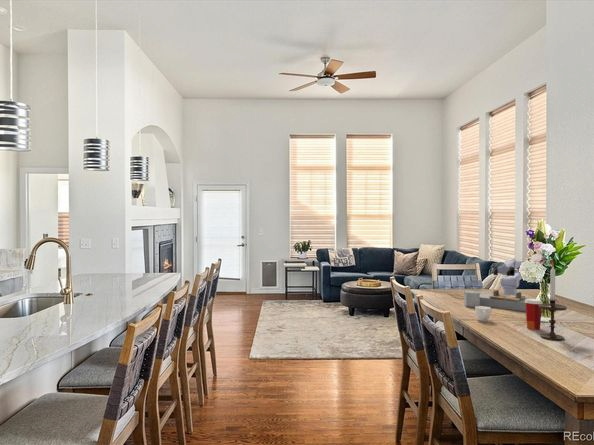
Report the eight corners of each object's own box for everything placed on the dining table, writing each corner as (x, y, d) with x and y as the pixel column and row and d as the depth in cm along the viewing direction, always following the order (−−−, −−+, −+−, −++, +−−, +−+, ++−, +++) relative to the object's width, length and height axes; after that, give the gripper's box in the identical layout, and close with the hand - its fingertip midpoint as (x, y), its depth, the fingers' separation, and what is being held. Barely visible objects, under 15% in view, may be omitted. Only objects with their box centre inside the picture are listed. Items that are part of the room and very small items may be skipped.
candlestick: (533, 334, 208) (534, 258, 208) (558, 335, 208) (558, 258, 207) (546, 341, 197) (546, 260, 197) (571, 341, 197) (572, 260, 196)
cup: (489, 319, 240) (489, 306, 240) (493, 323, 230) (493, 310, 230) (474, 318, 242) (474, 305, 242) (476, 322, 232) (476, 309, 232)
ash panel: (511, 296, 280) (511, 290, 280) (525, 297, 275) (525, 291, 275) (503, 299, 269) (503, 293, 269) (517, 301, 264) (517, 294, 264)
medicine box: (477, 305, 277) (477, 291, 277) (479, 307, 272) (479, 292, 272) (464, 305, 277) (464, 291, 277) (466, 307, 273) (466, 292, 273)
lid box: (484, 301, 291) (484, 293, 291) (539, 308, 270) (539, 299, 270) (475, 304, 279) (475, 296, 279) (532, 312, 258) (532, 303, 258)
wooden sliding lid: (497, 294, 286) (497, 288, 286) (510, 296, 280) (510, 290, 280) (489, 297, 274) (489, 291, 274) (502, 299, 269) (502, 293, 269)
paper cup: (540, 327, 222) (541, 299, 222) (543, 331, 214) (544, 301, 214) (523, 326, 224) (523, 298, 224) (525, 329, 217) (525, 300, 217)
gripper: (494, 261, 290) (487, 266, 279) (518, 262, 280) (512, 267, 270) (495, 272, 291) (488, 278, 280) (519, 273, 281) (513, 279, 271)
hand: (500, 273), depth 275 cm, fingers open, 7 cm apart
